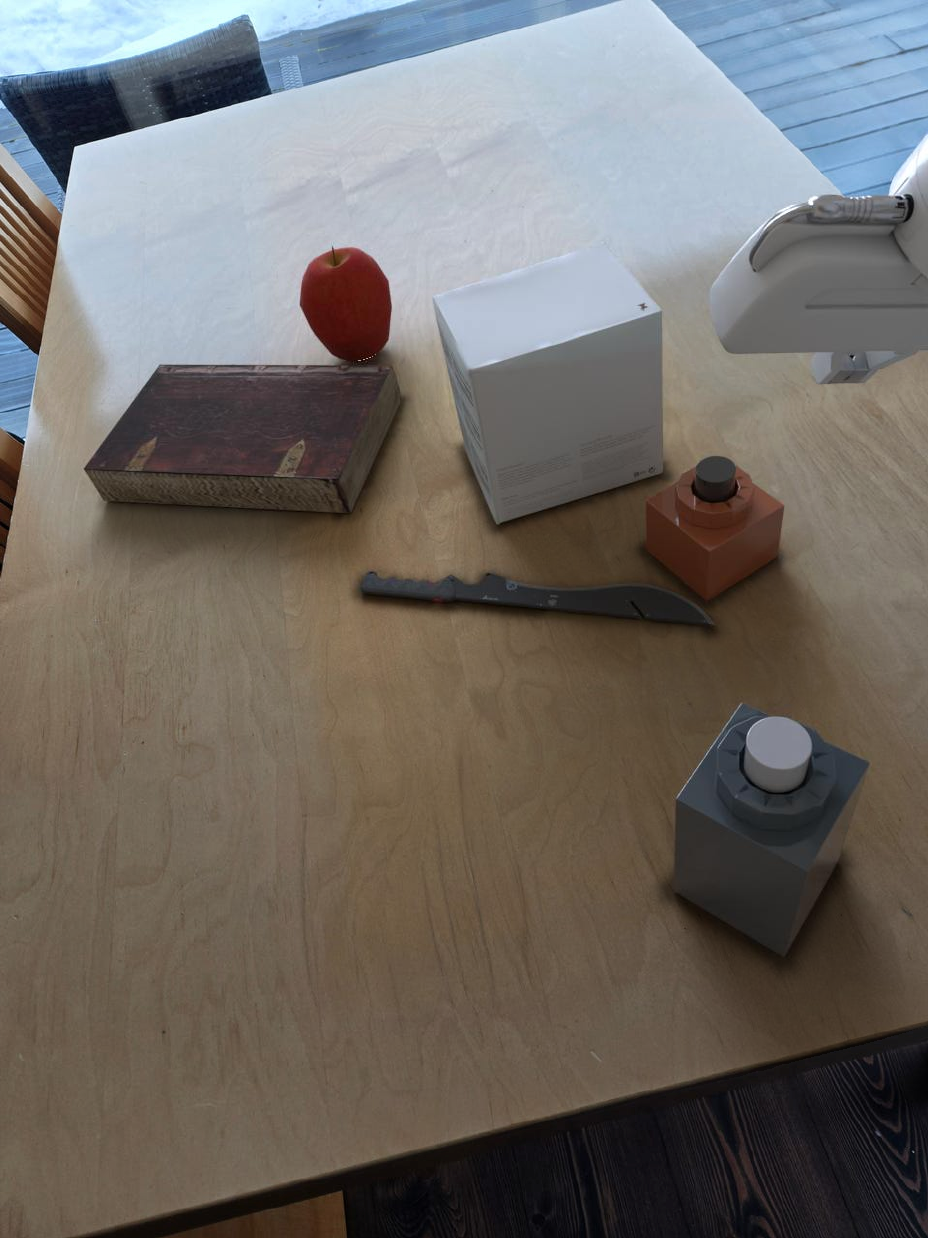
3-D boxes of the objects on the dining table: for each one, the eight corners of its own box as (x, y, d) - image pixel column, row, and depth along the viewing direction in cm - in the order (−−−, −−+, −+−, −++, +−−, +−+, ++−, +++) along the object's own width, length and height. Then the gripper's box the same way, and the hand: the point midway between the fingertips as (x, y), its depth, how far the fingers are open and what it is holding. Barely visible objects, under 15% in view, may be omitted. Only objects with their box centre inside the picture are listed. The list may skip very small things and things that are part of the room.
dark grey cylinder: (742, 491, 76) (744, 469, 74) (712, 509, 75) (713, 487, 74) (716, 471, 78) (717, 450, 76) (686, 489, 77) (686, 467, 76)
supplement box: (615, 398, 98) (607, 237, 85) (666, 475, 90) (667, 309, 76) (460, 447, 98) (426, 291, 84) (496, 529, 89) (465, 371, 75)
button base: (777, 556, 81) (787, 489, 75) (706, 601, 79) (710, 535, 73) (714, 508, 86) (718, 441, 80) (646, 550, 84) (644, 484, 78)
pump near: (817, 758, 52) (823, 733, 50) (789, 804, 51) (794, 780, 49) (760, 731, 54) (764, 706, 52) (732, 774, 53) (735, 750, 51)
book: (402, 398, 105) (392, 360, 101) (351, 516, 93) (338, 478, 90) (176, 394, 112) (159, 360, 109) (105, 503, 101) (83, 468, 98)
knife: (719, 593, 79) (720, 589, 79) (714, 631, 77) (714, 626, 76) (373, 561, 89) (371, 557, 88) (358, 594, 86) (357, 590, 86)
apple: (387, 319, 115) (360, 211, 105) (416, 358, 109) (390, 247, 99) (310, 349, 114) (274, 242, 104) (334, 390, 108) (299, 281, 97)
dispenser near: (838, 861, 63) (876, 743, 52) (784, 958, 60) (812, 855, 48) (730, 803, 67) (743, 682, 56) (673, 891, 64) (675, 781, 52)
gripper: (801, 261, 38) (678, 427, 51) (1214, 261, 42) (1002, 416, 55) (768, 138, 40) (657, 329, 53) (1167, 149, 44) (972, 324, 57)
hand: (835, 373), depth 54 cm, fingers closed
